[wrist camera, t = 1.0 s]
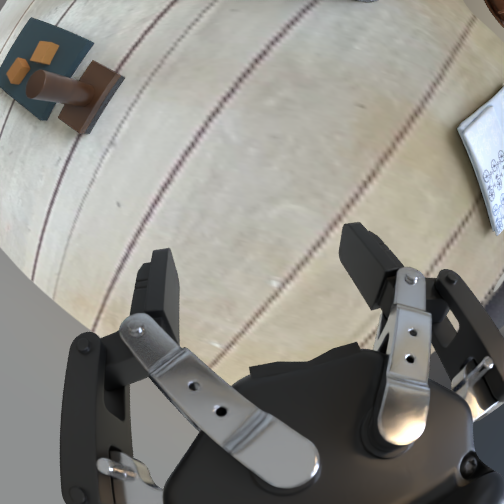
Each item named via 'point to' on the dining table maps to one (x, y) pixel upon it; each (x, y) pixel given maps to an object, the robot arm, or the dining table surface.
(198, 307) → the dining table surface
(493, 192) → the folded bicycle print cloth
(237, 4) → the dining table surface
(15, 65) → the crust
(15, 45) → the tray
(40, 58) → the brown wooden block
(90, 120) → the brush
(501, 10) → the cup and saucer
